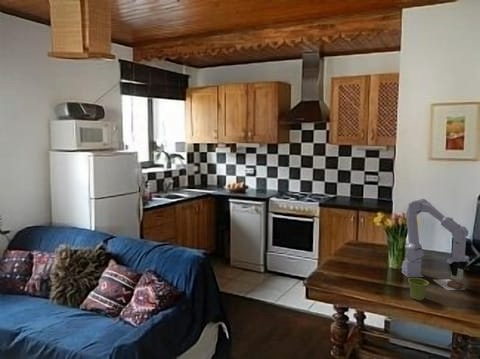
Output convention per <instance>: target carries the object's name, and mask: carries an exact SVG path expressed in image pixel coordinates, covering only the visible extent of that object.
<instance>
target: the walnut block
mask: <svg viewBox="0 0 480 359" xmlns="http://www.w3.org/2000/svg"><path fill="white" fill-rule="evenodd" d="M447 286H449V287H451V288H454V289H456V290H455V291H459V289H463V288H464V289H466V283H465V282H462V281H460V280H455V279H452V281H447Z"/></svg>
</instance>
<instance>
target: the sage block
mask: <svg viewBox="0 0 480 359" xmlns="http://www.w3.org/2000/svg"><path fill="white" fill-rule="evenodd" d="M463 278H464V271H463V270H462V269H459V268H458V271H457V275H456V276H453V275H452V272H451V271H450V279H452V280H457V281H460V280H461V281H462V280H463Z"/></svg>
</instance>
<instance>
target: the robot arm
mask: <svg viewBox="0 0 480 359" xmlns="http://www.w3.org/2000/svg"><path fill="white" fill-rule="evenodd" d="M421 213H428V214H430V215H431V216H432V217H433V218H435V219H436V220H438V221H439V222H440V225H441V226H442V227H443V228H445V229H446V230H447V231H448V232H449V233H451V236H452V237H453V241H452V255H451V257H449V258H447V259H446V263H447V264H448V266H449V268H450V273H451V272H452V275H453V276H456V275H457V271H458V268H459V269H462V270H463V272H464V271H465V269H466V267H467V265H469V262H468V261H469V260H470V256H468V255H466V244H467V236H468V235H469V230H468V229H467V227H466V226H463V225H461V224H459V223H458V222H456V221H455V220H454V218H453V217H449V216H445V215H444V214H442V213H441V212H440V211H439V210H438V209H437V208H436V207H435V206H434V205H432V203H431V202H430V201H428V200H427V199H426V198H420V199H415V200H412V201H411V202H410V203H408V207H407V210H406V212H405V216H406V226H407V227H406V228H407V237H408V239H407V240H408V244H407V247H406V252H405V258H406V259H404V260H402V263H401V264H402V265H401V266H402V267H401V273H402V274H403V275H404V276H406V277H407V278H421V277H422V278H423V277H424V275H422V274H421V273H422V272H421V270H422V258H423V257H424V256H425V253H424V252H425V251H424V249H423V246H422V245H421V243H420V236H419V227H418V218H417V216H418V215H419V214H421Z"/></svg>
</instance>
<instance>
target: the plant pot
mask: <svg viewBox="0 0 480 359" xmlns="http://www.w3.org/2000/svg"><path fill="white" fill-rule="evenodd" d="M407 281H408V284H409V292H410V293H409V294H410V298H411V299H412V300H416V301H423V300H424V299H425V296H426V292H427V288H428V286H429V285H430V282H429V281H428V280H426V279H423V278H421V277H409V278H408V280H407Z"/></svg>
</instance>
